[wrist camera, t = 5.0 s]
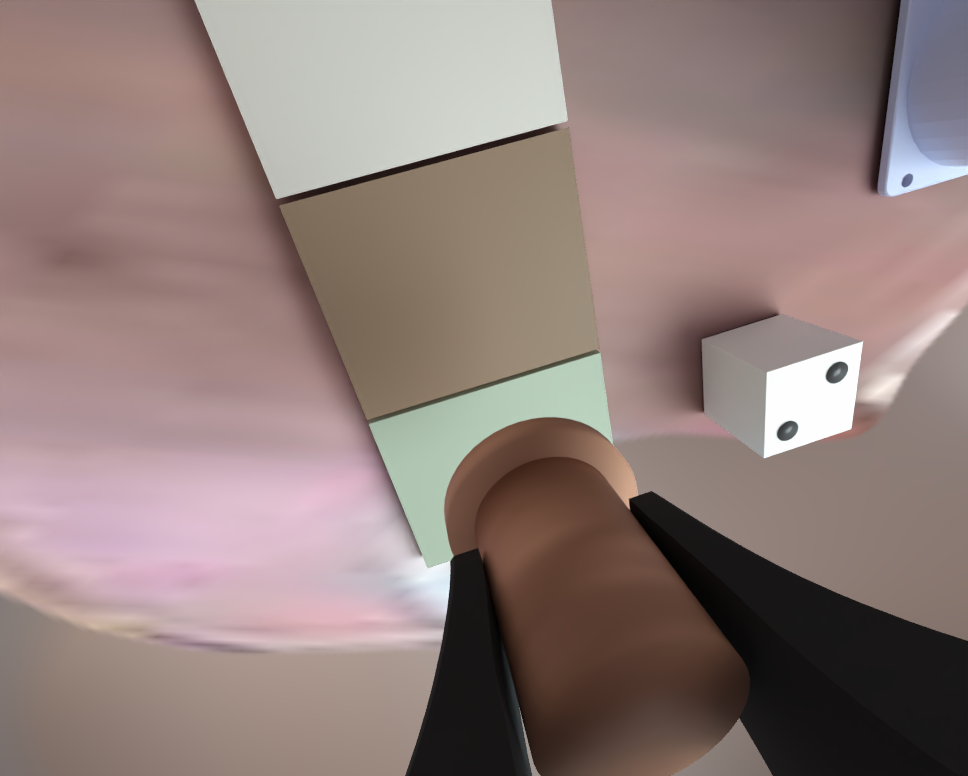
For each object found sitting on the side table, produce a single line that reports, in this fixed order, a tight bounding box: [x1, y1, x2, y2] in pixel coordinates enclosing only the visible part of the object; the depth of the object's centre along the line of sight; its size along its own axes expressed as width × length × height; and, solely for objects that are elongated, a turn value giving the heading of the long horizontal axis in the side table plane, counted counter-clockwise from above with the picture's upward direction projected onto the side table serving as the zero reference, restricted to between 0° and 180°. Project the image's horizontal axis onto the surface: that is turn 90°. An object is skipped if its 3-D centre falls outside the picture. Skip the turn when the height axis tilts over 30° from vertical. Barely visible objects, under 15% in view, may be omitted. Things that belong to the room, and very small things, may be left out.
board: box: [195, 0, 613, 568], centre depth 18 cm, size 10×25×1 cm, turn 14°
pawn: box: [444, 417, 750, 776], centre depth 10 cm, size 5×5×6 cm
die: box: [702, 314, 863, 458], centre depth 20 cm, size 4×4×4 cm
